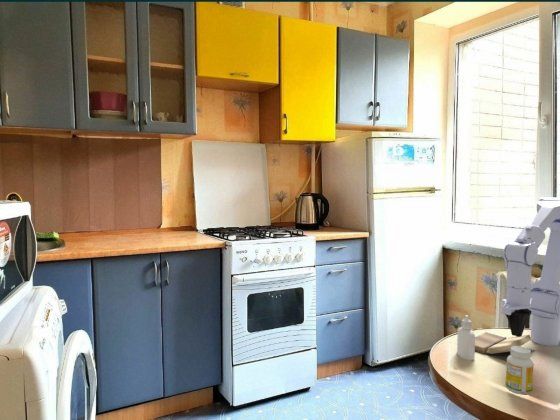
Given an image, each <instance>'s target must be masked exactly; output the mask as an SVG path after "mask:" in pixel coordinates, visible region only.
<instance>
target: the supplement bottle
mask: <svg viewBox="0 0 560 420" xmlns="http://www.w3.org/2000/svg"><path fill="white" fill-rule="evenodd" d="M527 348H528V347H524V346H521V347H520V346H513V347H511V352H510V353H511V355H510V356H509V355H508V357H507V356H506V357H507V360H506V366H505V367H506V368H505V369H506V373H505V385H506V386H505V387H506V389H507V390H508V391H509V392H512V393H514V394H517V395H521V396H523V395H526V396H527V395H528V394H527V393H529V392H531V391H533V379H534V377H533V376H534V361H533V360H532V359H531V355H532V353H531V349H530V348H528V349H527ZM529 349H530V350H529Z"/></svg>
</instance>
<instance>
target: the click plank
mask: <svg viewBox="0 0 560 420" xmlns="http://www.w3.org/2000/svg"><path fill="white" fill-rule="evenodd" d="M531 341H532V339H531V334H524V335H523V334H522V336H521V337H517V336H512V337H511V336H510V337H507V339H506V340H504V341H502V342H500V343H498V344H496V345H494V346H491V347H489V348H488V350H487V351H486V352H487V353H490V354H491V355H493V353H495V354H496V353H501V352H504V353H505V352H508V351H511V347H513V346H521V347H522V346H523V345H525V344H527V343H528V342H531Z"/></svg>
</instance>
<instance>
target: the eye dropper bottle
mask: <svg viewBox="0 0 560 420" xmlns="http://www.w3.org/2000/svg"><path fill="white" fill-rule="evenodd" d="M469 318H470V317H469V315H466V314H465V316H464V318H463V319H461V327H459V328H458V329H457V339H456V340H457V341H456V342H457V343H456V345H457V346H456V347H457V348H456V354H457V355H458V357H459V358H461V359H464V360H466V361H475V356H476V355H475V353H476V351H475V337H476V335H475V333H474V330H472V320H471V319H469Z"/></svg>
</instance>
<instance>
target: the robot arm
mask: <svg viewBox="0 0 560 420" xmlns="http://www.w3.org/2000/svg"><path fill="white" fill-rule="evenodd" d="M548 228H549V230H550V232H549V236H548V237H549V238H548V240H547V246H546V251H545V255H544V261H543V264H542V268H541V275H540V278H539V279H538V280H537V281H535V282H532V266H533V265H534V264H535V263H536V261H537V257H538V253H539V247H540V246H541V245H542V243H543V242H544V240H545V239H546V233H545V231H546V230H547V229H548ZM502 255H503V256H502V257H503V260H504V266H505V269H506V271H507V272H506V298H503V299H501V303H502V304H504V305H502V306H501V314H503V315H505V316H506V319H507V321H508V325H509V329H510V332H511V333H510V334H511V336H513V337H521V336H523V333H524V330H525V326H526V325H527V324H526V323H527V321H528V320H529V318H530V316H531V320H530V337H531V339H532V340H531V341H532V342H534V343H536V344H539V345H544V346H549V347H551V346H552V347H554V346H559V345H560V197H545V196H541V197H540V198H539V199H538V200H537V203H536V216H535V217H534V219H533V221H532V223H531V224H529V225H526V226H524V228H523V229H522V230H521V232H520V233H519V234H518V236H517V237H516V238H515V240H514V241H511V242H509V243H507V244H506V245H505V246H504V250H503V253H502Z"/></svg>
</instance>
